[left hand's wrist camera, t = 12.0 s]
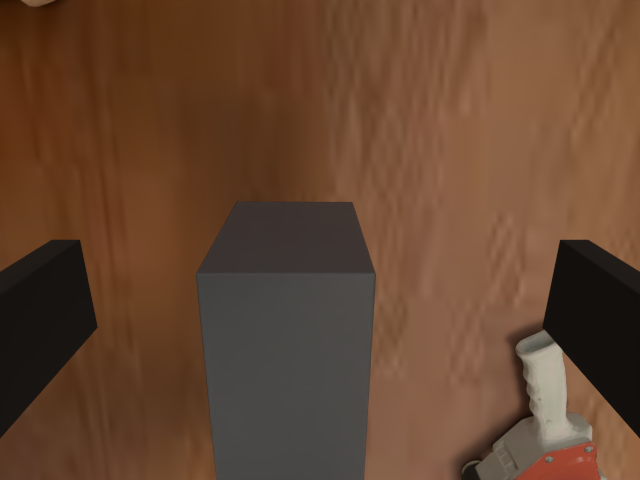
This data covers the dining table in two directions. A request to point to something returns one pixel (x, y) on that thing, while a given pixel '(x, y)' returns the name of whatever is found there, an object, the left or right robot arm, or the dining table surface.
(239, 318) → the bar
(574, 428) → the tape dispenser
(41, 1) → the squash
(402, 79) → the dining table surface
